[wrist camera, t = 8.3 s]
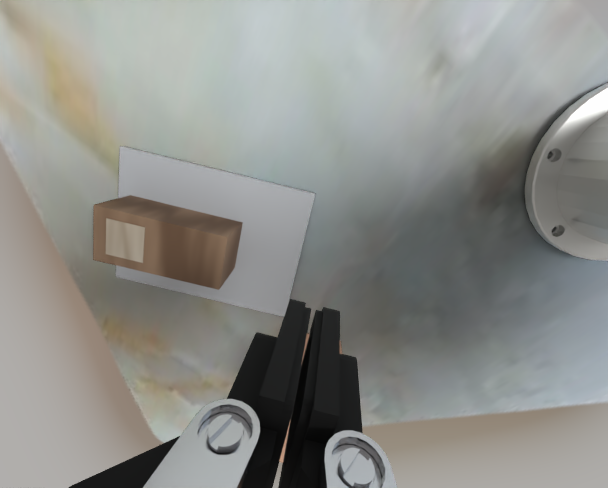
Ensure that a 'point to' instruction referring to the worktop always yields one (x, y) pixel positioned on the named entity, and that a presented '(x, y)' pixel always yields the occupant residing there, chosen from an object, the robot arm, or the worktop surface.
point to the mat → (232, 205)
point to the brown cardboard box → (166, 240)
